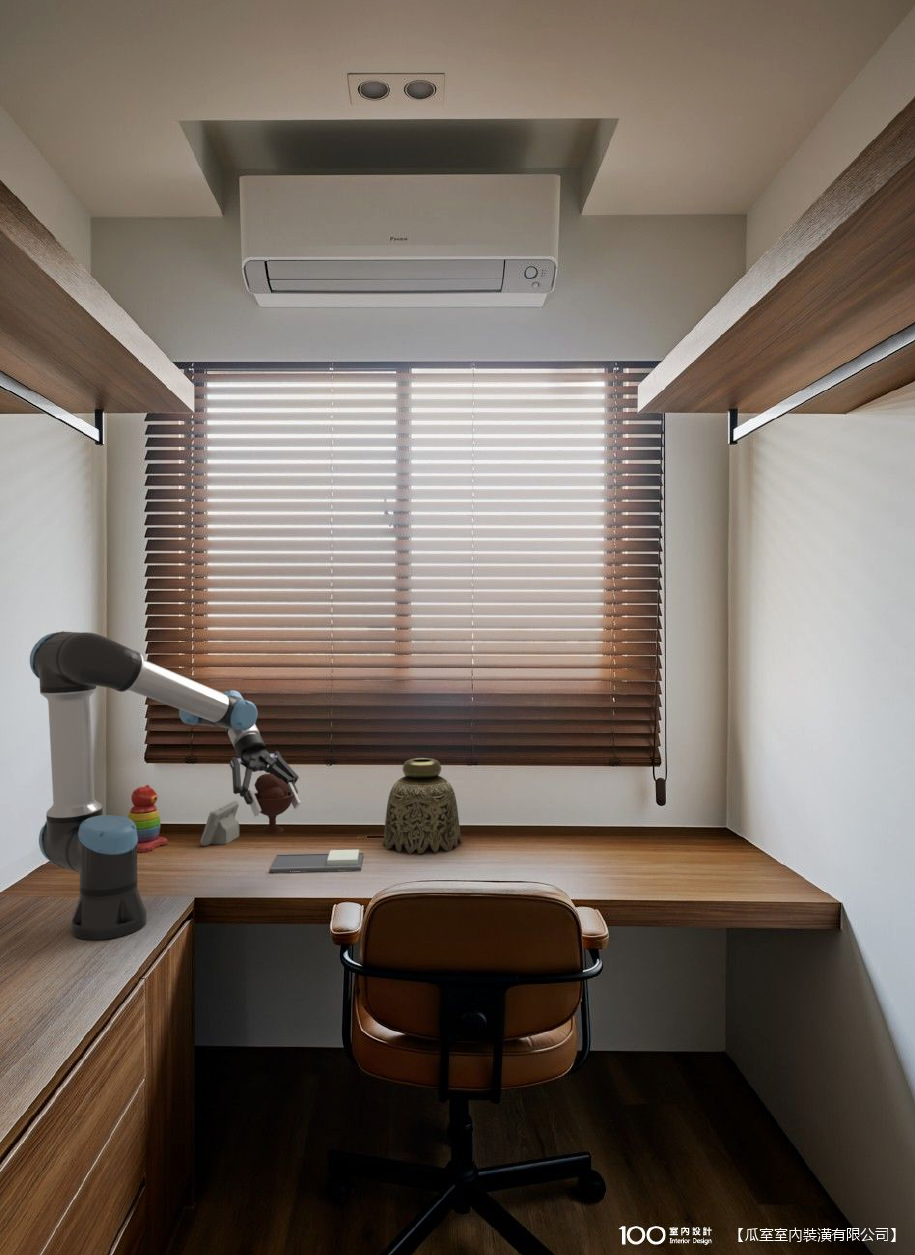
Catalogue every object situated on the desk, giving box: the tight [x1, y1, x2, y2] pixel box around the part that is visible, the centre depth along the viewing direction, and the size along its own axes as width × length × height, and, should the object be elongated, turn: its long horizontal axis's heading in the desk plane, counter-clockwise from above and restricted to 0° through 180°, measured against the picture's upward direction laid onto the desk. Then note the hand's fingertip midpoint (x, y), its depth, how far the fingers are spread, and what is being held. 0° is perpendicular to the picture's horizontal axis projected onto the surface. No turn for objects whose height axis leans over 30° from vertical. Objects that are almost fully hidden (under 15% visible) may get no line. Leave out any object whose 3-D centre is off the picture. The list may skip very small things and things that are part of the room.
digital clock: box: [200, 800, 240, 847], centre depth 244 cm, size 16×9×11 cm, turn 158°
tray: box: [269, 851, 364, 874], centre depth 220 cm, size 24×13×1 cm, turn 94°
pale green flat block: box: [327, 849, 360, 866], centre depth 221 cm, size 8×10×2 cm
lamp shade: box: [382, 757, 462, 855], centre depth 240 cm, size 23×23×25 cm
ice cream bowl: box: [254, 773, 294, 835], centre depth 206 cm, size 11×11×15 cm
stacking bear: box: [127, 784, 169, 853], centre depth 238 cm, size 11×10×18 cm
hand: (278, 809), depth 203 cm, fingers closed on ice cream bowl, 11 cm apart
